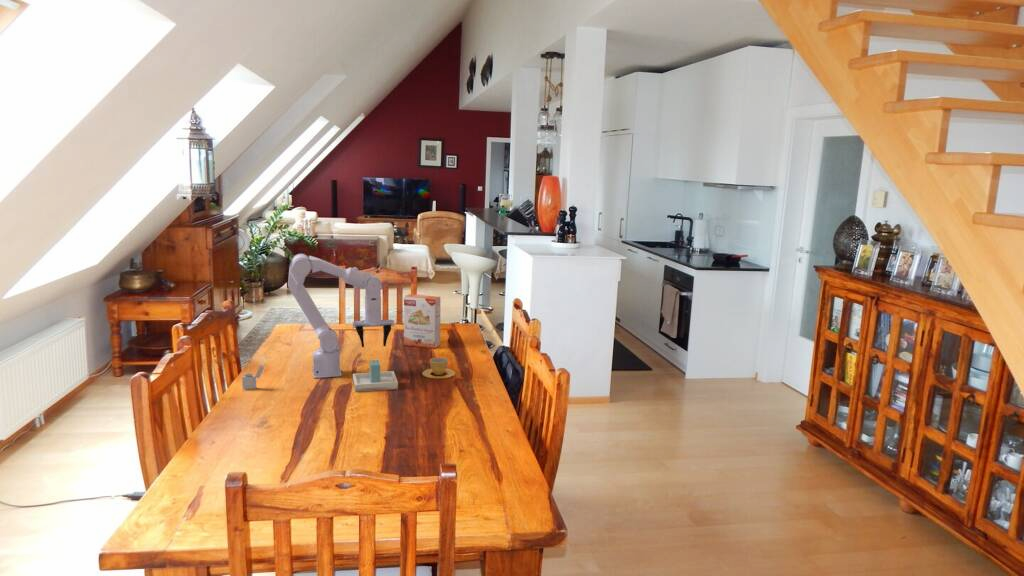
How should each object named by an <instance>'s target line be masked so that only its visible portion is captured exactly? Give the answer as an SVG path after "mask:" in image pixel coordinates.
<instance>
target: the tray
mask: <svg viewBox="0 0 1024 576" xmlns="http://www.w3.org/2000/svg"><path fill="white" fill-rule="evenodd" d="M352 383H353V387H354V393H358V392H359V393H360V392H361V393H362V392H376V391H389V390H399V381H398V379H397V376H396V373H395V371H394V370H390V371H389V370H387V371H380V382H378V383H371V382H370V372H359V373H352Z"/></svg>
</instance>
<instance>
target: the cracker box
mask: <svg viewBox="0 0 1024 576" xmlns="http://www.w3.org/2000/svg"><path fill="white" fill-rule="evenodd" d="M403 345H404V346H409V347H417V348H425V349H426V348H427V349H433V350H435V349H436V348H438V347H439V346H441V296H435V295H425V294H424V295H423V294H413V293H409V294H408V295H405V296H403Z"/></svg>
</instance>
